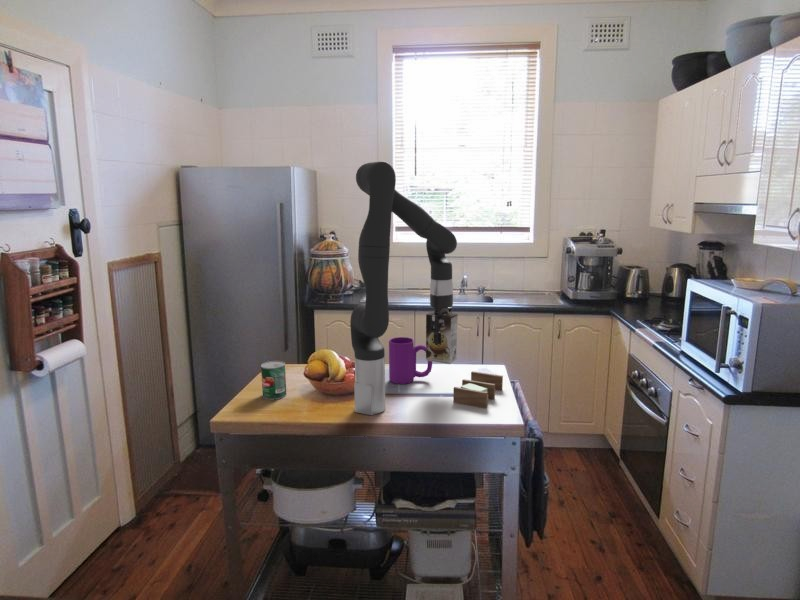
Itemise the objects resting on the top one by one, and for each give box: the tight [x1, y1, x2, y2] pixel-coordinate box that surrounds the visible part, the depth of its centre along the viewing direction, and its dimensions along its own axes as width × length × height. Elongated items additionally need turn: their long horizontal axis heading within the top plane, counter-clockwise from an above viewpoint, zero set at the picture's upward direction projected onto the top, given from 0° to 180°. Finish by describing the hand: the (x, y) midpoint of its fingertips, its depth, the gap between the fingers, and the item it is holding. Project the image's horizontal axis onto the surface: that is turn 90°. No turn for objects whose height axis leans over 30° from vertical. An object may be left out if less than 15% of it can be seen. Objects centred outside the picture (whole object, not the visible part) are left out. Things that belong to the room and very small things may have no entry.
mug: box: [388, 336, 433, 385], centre depth 189 cm, size 9×16×15 cm, turn 90°
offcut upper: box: [460, 383, 487, 392], centre depth 170 cm, size 5×7×2 cm, turn 43°
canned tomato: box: [260, 360, 287, 401], centre depth 176 cm, size 8×8×11 cm
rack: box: [452, 370, 504, 409], centre depth 174 cm, size 18×11×5 cm, turn 153°
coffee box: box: [425, 310, 459, 365], centre depth 176 cm, size 9×6×16 cm
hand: (441, 341), depth 176 cm, fingers closed on coffee box, 6 cm apart
